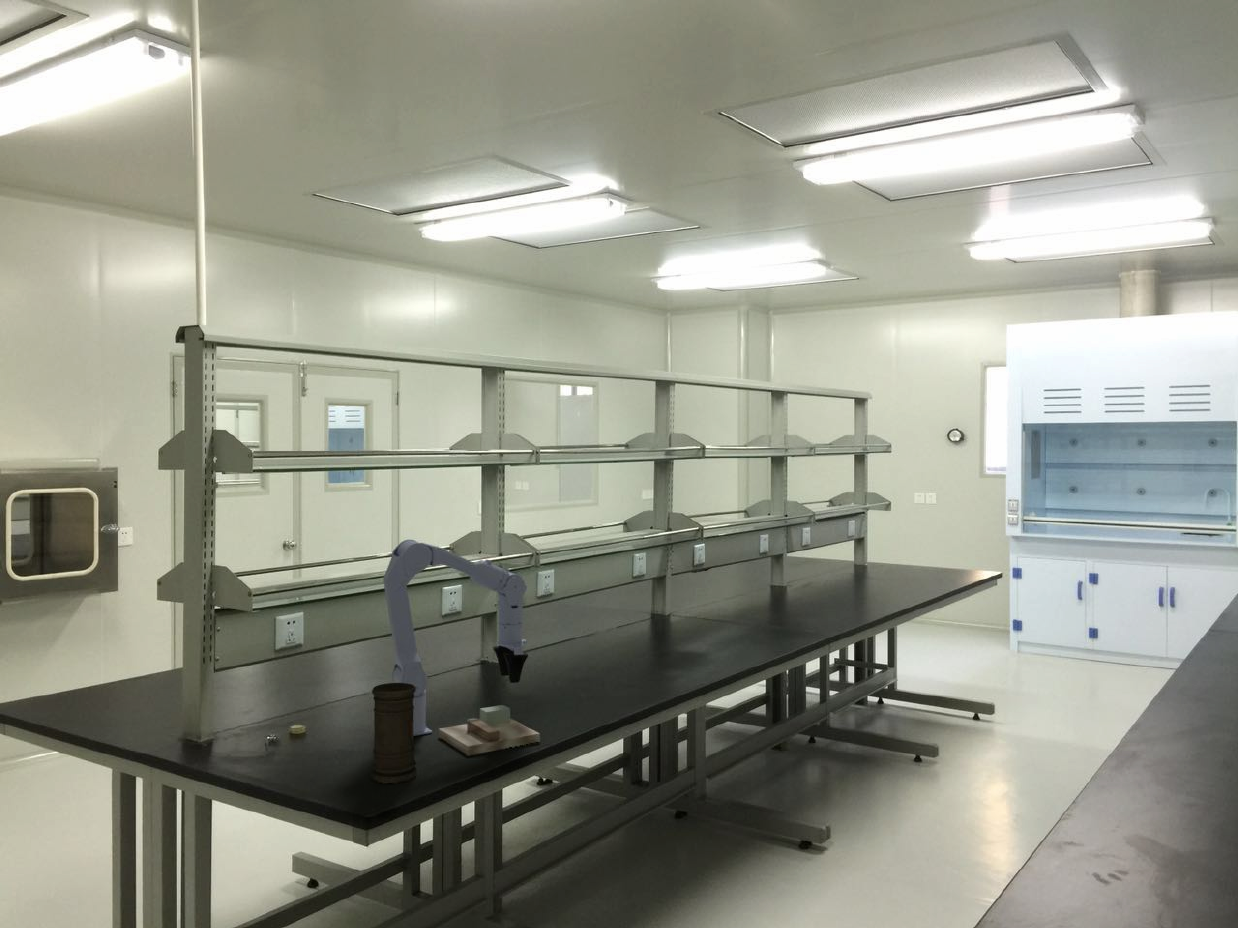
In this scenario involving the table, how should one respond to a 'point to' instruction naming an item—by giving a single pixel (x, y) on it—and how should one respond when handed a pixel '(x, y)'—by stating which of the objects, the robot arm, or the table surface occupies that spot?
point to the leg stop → (495, 715)
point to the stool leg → (483, 730)
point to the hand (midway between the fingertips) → (510, 678)
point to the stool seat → (474, 744)
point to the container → (393, 733)
